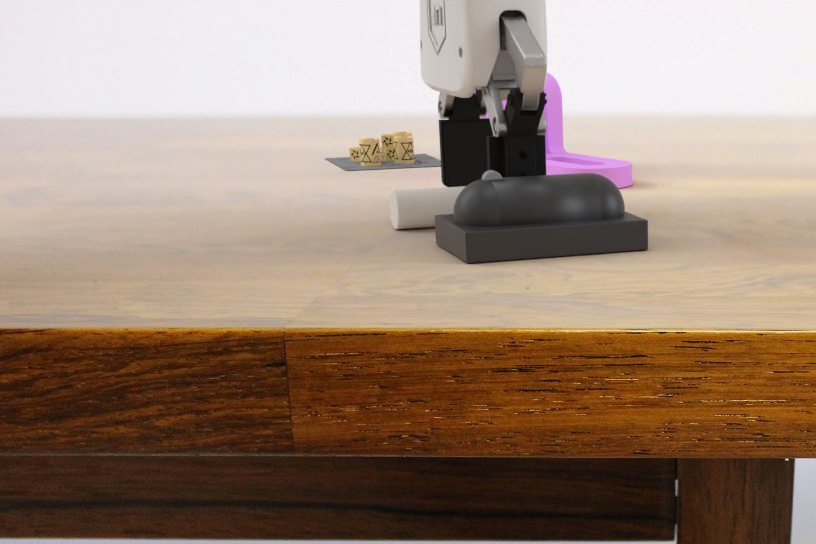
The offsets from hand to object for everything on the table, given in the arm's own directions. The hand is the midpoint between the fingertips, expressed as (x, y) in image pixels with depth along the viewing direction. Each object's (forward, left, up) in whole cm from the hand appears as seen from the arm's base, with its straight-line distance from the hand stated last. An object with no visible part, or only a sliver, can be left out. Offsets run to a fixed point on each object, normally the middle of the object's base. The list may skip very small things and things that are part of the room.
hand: (492, 196), depth 87 cm
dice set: (+1, +31, -2) cm, 31 cm away
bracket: (+10, +17, -2) cm, 20 cm away
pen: (0, 0, -1) cm, 2 cm away
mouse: (0, -8, -2) cm, 9 cm away
